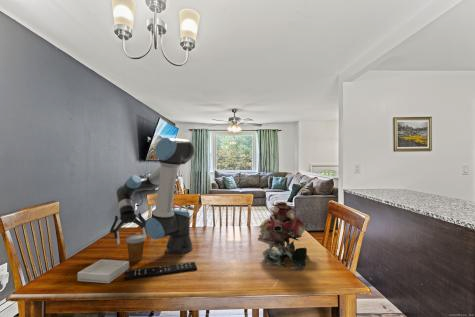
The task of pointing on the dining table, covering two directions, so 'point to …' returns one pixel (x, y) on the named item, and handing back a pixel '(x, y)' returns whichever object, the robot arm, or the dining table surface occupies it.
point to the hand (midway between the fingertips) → (132, 240)
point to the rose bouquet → (283, 237)
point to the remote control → (159, 271)
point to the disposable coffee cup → (135, 247)
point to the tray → (103, 271)
